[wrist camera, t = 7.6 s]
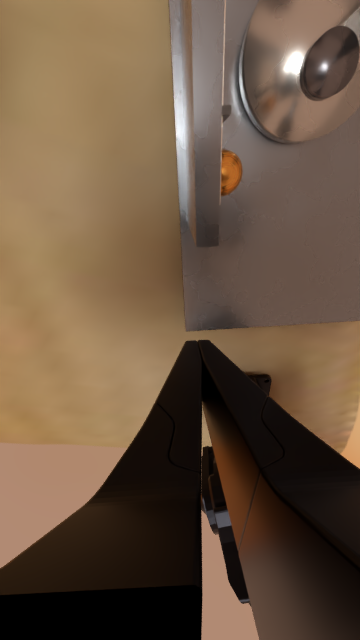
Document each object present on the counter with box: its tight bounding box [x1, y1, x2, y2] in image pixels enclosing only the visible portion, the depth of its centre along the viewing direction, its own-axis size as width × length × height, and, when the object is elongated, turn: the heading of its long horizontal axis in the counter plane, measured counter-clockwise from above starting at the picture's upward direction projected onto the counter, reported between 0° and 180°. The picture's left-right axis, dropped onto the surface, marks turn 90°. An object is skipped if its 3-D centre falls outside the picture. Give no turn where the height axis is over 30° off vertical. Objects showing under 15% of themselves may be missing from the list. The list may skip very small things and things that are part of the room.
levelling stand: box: [169, 0, 360, 331], centre depth 14 cm, size 22×17×8 cm
